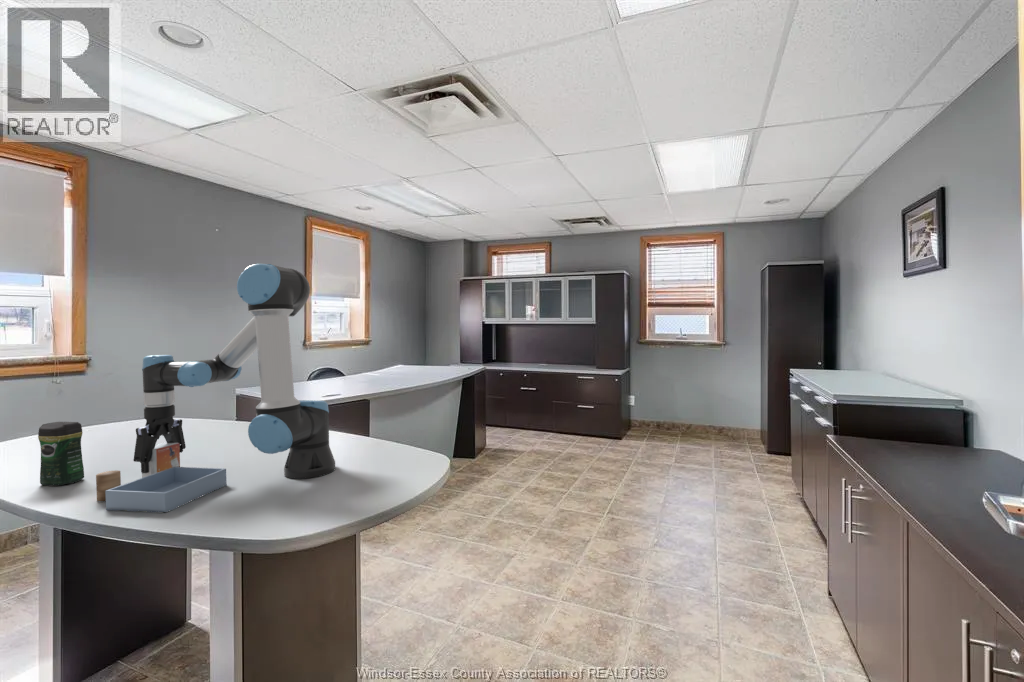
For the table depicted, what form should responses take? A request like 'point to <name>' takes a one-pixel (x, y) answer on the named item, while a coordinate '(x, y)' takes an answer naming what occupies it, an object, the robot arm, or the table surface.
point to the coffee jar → (60, 453)
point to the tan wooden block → (106, 483)
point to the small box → (165, 456)
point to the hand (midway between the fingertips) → (161, 478)
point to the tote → (165, 489)
